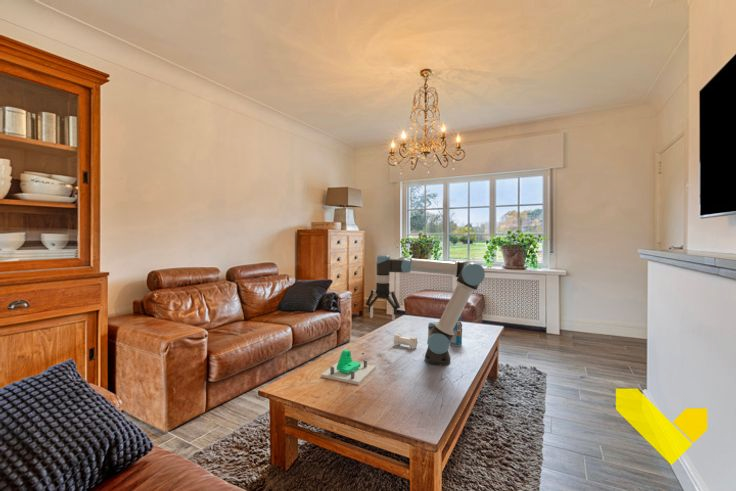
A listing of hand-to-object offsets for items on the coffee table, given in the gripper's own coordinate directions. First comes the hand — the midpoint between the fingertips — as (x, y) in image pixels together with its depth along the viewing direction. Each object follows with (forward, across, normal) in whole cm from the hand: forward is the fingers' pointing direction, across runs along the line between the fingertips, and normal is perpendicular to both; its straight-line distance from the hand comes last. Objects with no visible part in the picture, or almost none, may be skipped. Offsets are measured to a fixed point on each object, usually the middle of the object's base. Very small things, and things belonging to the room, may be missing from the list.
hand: (382, 319), depth 195 cm
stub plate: (+27, +12, +18) cm, 34 cm away
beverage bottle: (+27, -33, -55) cm, 70 cm away
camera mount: (+25, +12, +18) cm, 33 cm away
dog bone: (+27, -3, -35) cm, 45 cm away
